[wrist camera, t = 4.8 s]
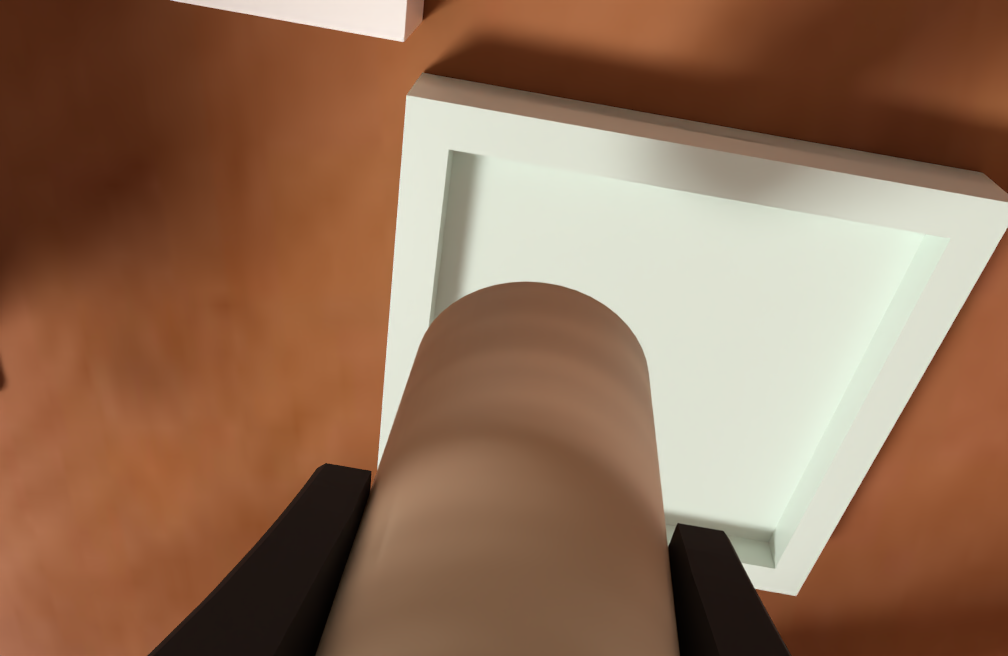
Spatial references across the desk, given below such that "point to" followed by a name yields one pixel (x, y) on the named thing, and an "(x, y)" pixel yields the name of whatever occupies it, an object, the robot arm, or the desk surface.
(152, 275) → the desk surface
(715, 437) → the tray
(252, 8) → the pin holder
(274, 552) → the robot arm
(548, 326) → the peg
